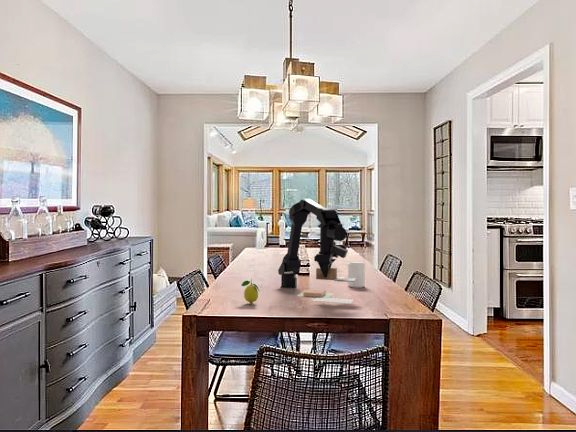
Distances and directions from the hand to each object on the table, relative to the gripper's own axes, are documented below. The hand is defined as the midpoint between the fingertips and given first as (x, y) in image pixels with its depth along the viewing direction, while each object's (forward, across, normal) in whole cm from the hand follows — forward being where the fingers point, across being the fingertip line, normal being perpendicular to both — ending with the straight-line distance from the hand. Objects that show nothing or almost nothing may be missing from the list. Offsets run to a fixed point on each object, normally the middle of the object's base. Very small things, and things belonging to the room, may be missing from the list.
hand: (326, 276), depth 214 cm
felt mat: (+10, +9, +7) cm, 15 cm away
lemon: (+10, -17, +27) cm, 33 cm away
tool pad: (+10, 0, -3) cm, 10 cm away
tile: (+9, +12, +7) cm, 16 cm away
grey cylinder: (+10, +39, -6) cm, 41 cm away
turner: (+1, 0, -4) cm, 4 cm away
